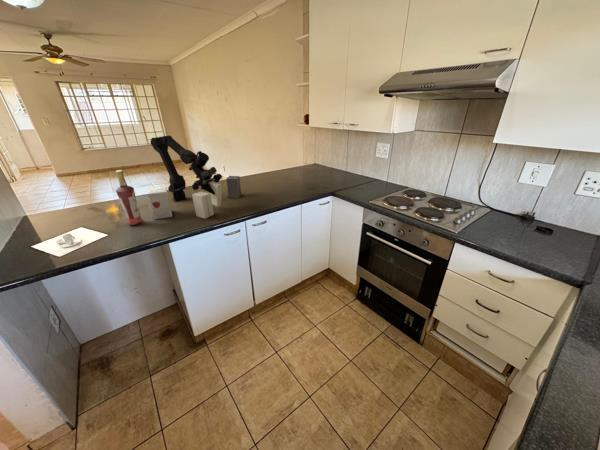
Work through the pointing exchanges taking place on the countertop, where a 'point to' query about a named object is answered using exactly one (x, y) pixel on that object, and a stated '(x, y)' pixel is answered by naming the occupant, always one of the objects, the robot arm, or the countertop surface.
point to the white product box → (160, 202)
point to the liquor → (128, 200)
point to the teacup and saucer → (69, 241)
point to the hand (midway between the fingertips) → (216, 193)
